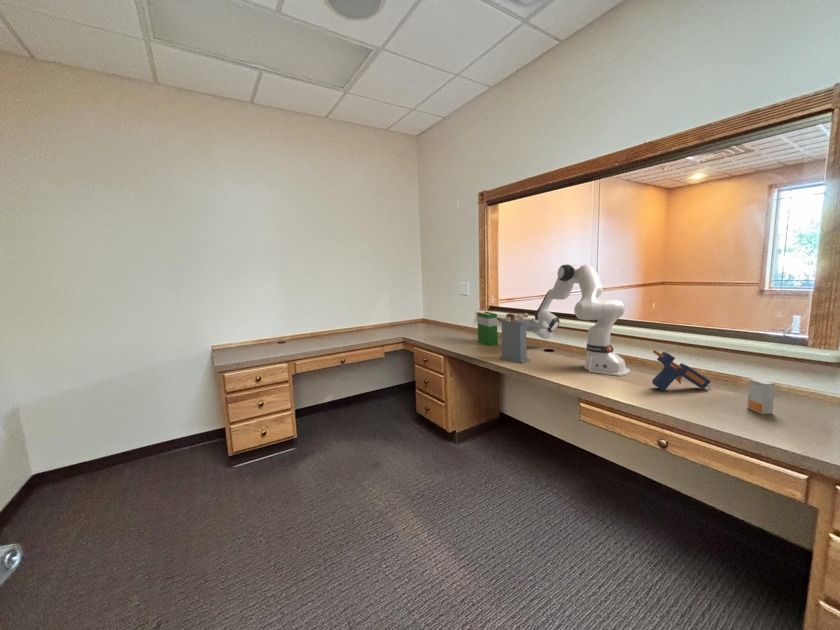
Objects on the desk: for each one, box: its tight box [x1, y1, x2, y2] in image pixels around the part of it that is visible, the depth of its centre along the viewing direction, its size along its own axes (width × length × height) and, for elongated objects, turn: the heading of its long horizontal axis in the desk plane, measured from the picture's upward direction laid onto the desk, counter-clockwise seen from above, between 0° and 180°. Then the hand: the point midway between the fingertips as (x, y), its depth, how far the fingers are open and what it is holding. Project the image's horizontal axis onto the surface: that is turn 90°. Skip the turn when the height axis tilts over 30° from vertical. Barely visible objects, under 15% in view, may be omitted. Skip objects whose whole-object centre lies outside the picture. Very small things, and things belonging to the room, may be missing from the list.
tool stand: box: [498, 317, 531, 364], centre depth 219 cm, size 17×8×26 cm, turn 39°
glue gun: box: [651, 349, 712, 392], centre depth 157 cm, size 6×31×15 cm
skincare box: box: [746, 377, 776, 415], centre depth 131 cm, size 6×4×12 cm
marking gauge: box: [505, 312, 529, 321], centre depth 219 cm, size 20×5×5 cm, turn 129°
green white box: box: [476, 311, 499, 347], centre depth 269 cm, size 18×7×24 cm, turn 18°
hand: (526, 319), depth 226 cm, fingers open, 8 cm apart
